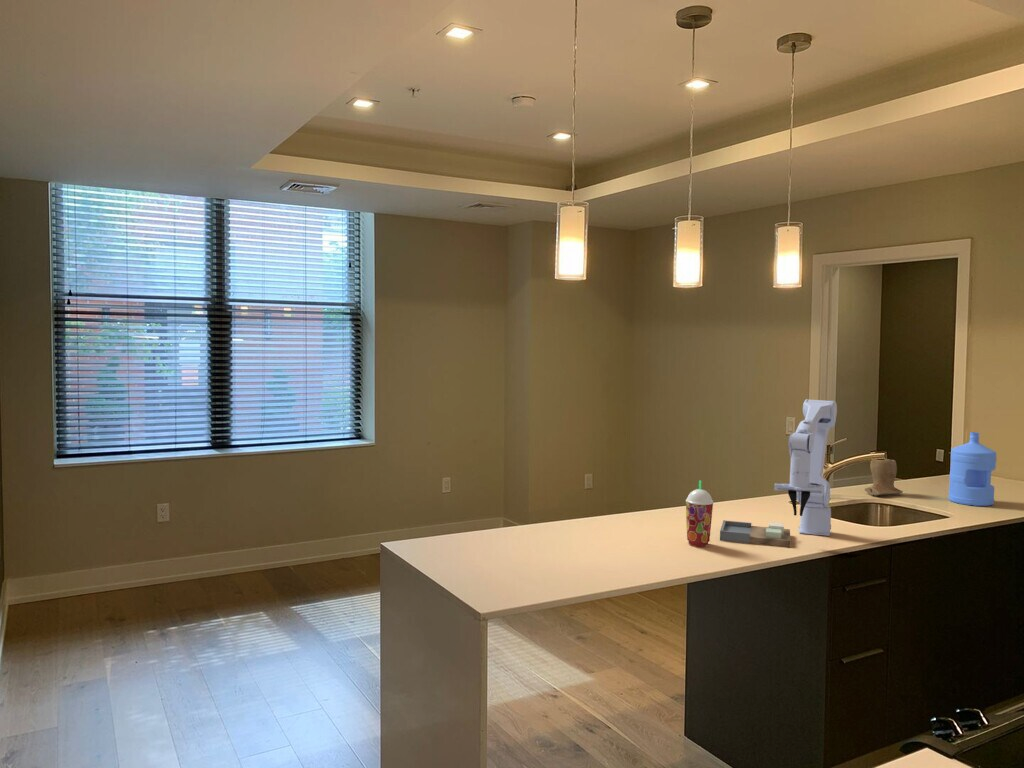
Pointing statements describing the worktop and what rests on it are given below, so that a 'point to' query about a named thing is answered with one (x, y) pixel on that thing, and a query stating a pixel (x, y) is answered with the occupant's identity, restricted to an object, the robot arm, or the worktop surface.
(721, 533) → the slate tray
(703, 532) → the smoothie
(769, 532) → the sage tile
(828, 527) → the robot arm
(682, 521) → the worktop surface
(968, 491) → the water jug
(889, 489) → the stone cup
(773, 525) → the cream tile
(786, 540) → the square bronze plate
